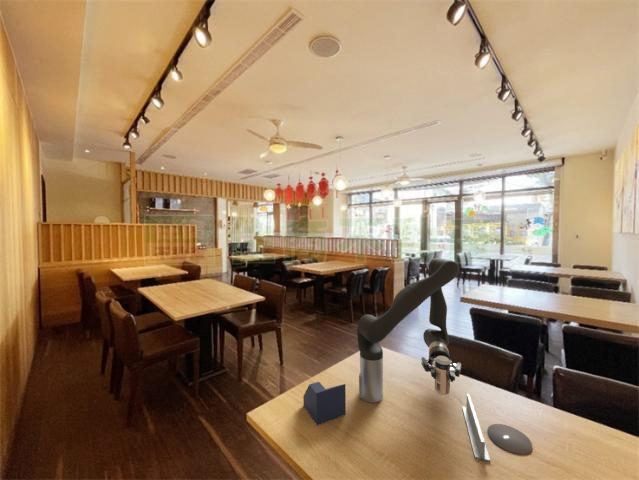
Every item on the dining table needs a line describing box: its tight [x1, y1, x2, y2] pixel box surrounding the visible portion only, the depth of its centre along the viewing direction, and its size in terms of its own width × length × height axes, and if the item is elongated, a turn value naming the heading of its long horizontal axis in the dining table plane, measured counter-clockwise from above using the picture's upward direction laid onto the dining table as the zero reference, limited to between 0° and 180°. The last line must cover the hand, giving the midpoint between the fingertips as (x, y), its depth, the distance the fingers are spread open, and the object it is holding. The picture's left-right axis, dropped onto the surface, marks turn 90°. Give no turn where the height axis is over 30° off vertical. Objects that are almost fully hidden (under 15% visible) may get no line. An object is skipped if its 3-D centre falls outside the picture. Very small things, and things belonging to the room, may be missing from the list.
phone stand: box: [302, 381, 347, 426], centre depth 105 cm, size 12×12×12 cm
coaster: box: [486, 423, 533, 455], centre depth 90 cm, size 12×12×1 cm
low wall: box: [461, 393, 491, 464], centre depth 93 cm, size 4×24×6 cm, turn 161°
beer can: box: [434, 356, 451, 396], centre depth 95 cm, size 5×5×12 cm
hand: (443, 377), depth 93 cm, fingers closed on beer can, 4 cm apart
